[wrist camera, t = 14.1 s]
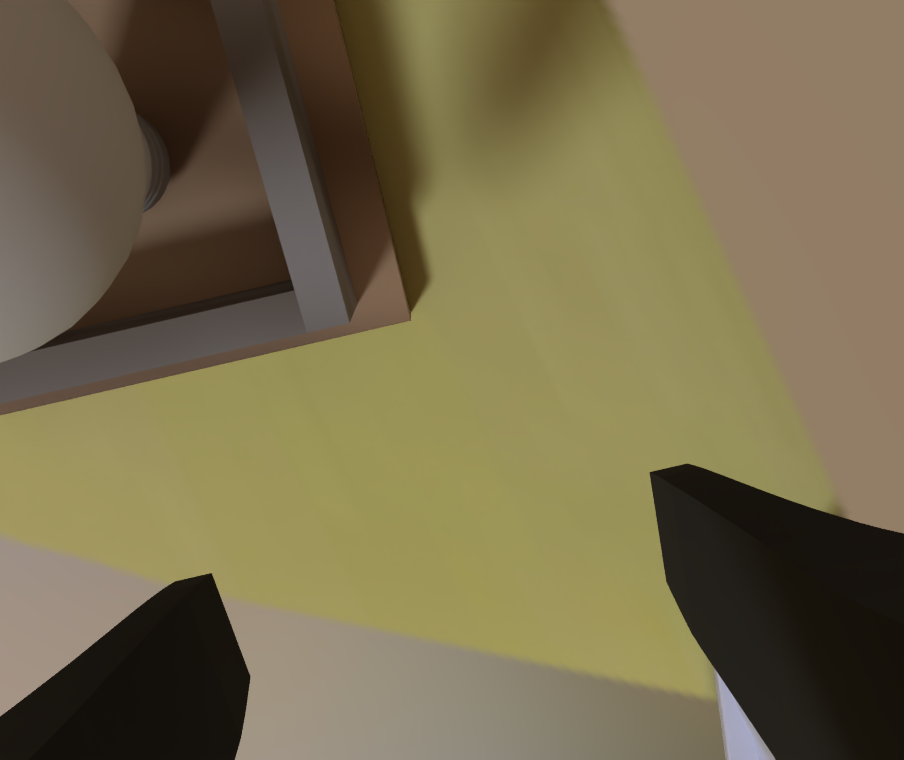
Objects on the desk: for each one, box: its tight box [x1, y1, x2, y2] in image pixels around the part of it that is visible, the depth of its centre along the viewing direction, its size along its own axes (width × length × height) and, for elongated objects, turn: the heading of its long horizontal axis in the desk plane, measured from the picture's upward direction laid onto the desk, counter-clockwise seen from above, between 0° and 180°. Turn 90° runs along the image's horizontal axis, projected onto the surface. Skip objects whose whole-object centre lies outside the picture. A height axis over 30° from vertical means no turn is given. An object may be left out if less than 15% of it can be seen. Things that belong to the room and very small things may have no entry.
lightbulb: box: [0, 0, 170, 363], centre depth 12 cm, size 6×6×11 cm
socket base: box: [0, 0, 411, 415], centre depth 16 cm, size 11×12×4 cm
